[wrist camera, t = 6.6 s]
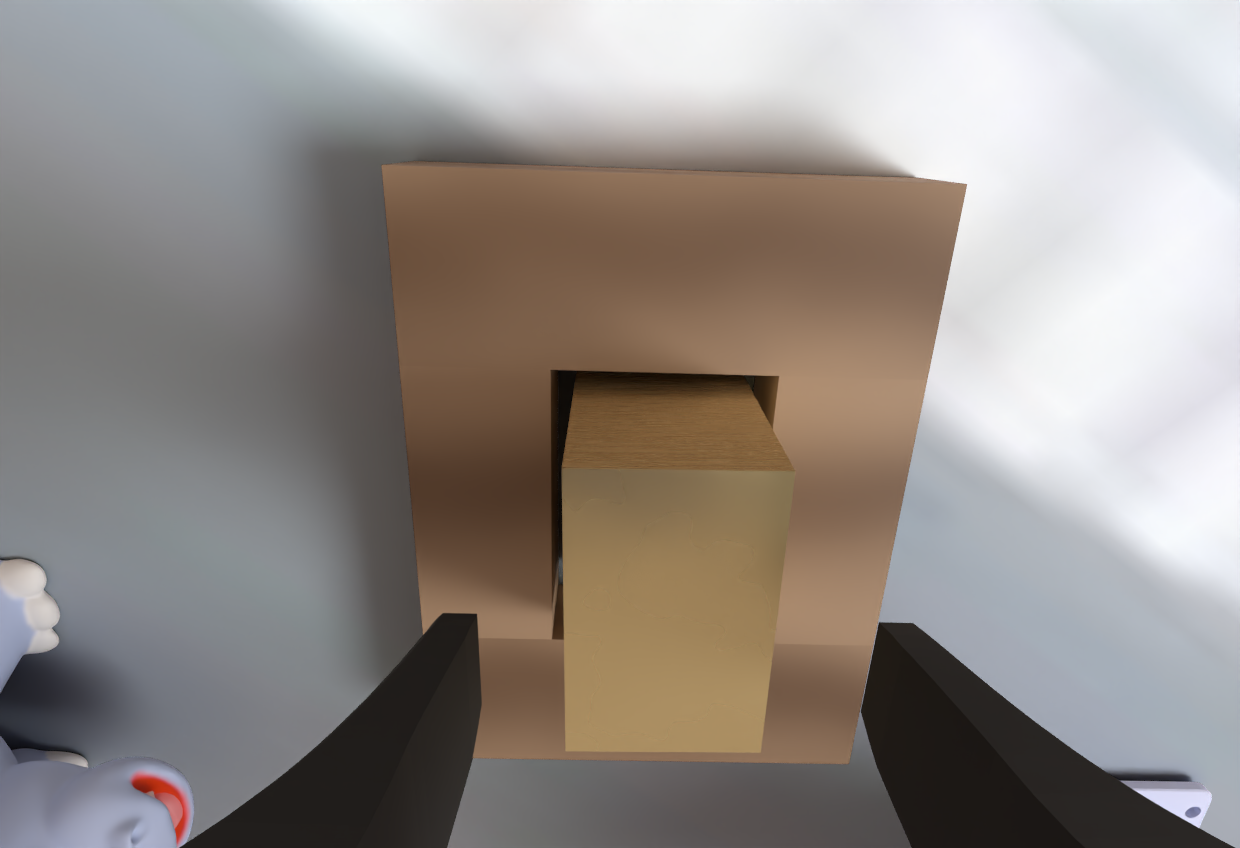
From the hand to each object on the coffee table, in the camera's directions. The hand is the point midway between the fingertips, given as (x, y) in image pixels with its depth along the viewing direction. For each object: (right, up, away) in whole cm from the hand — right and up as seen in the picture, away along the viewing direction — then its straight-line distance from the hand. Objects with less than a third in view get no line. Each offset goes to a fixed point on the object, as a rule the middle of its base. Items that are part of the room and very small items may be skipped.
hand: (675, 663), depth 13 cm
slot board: (0, +3, +7) cm, 8 cm away
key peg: (0, +3, +7) cm, 8 cm away
